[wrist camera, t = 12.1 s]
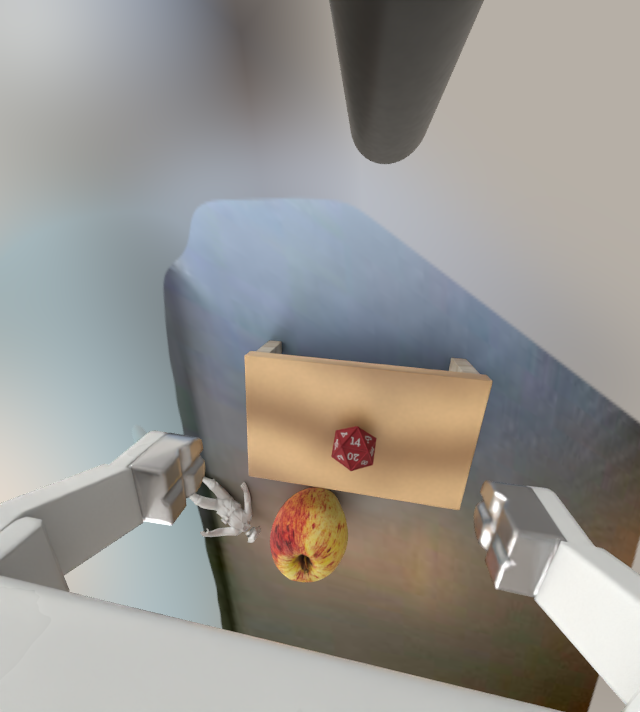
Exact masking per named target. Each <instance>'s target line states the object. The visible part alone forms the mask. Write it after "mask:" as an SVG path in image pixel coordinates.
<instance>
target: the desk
mask: <svg viewBox="0 0 640 712" xmlns="http://www.w3.org/2000/svg"><path fill="white" fill-rule="evenodd" d="M281 353H282V342H281V341H268V342H267V343H266V344H264V345H263V346H262V347H261V348H259V349H258V350H257V351H256V352H255V351H250V352H249V353H247V354H246V355H245V379H246V408H247V437H248V466H249V476H252V477H259V478H265V479H271V480H277V481H283V482H289V483H295V484H301V485H308V486H314V487H320V488H326V489H332V490H338V491H344V492H351V493H357V494H363V495H369V496H375V497H381V498H387V499H394V500H400V501H406V502H412V503H418V504H424V505H430V506H437V507H443V508H449V509H455V510H459V509H460V505H461V501H462V497H463V494H464V490H465V486H466V482H467V478H468V474H469V470H470V467H471V463H472V459H473V455H474V451H475V447H476V443H477V440H478V436H479V432H480V428H481V424H482V420H483V417H484V413H485V409H486V405H487V401H488V397H489V393H490V390H491V386H492V380H491V379H490V378H489V377H488V376H487V375H482V374H479V373H478V372H477V370H476V369H475V368H474V367H473V366H472V365H471V364H470V363H469V362H468V361H467V360H466V359H460V358H451V362H450V366H449V371H443V370H433V369H423V368H413V367H403V366H393V365H384V364H374V363H364V362H354V361H344V360H334V359H324V358H314V357H305V356H295V355H285V354H281ZM355 426H358V427H359V428H361V429H363V430H364V431H366V432H367V433H369V434H371V435H372V436H374V437H376V438H377V439H376V446H375V454H374V461H373V465H371V466H368V467H364V468H361V469H357V470H354V471H350V470H349V469H347V468H346V467H344V466H343V465H342V464H340V463H339V462H338V461H336V460H335V459H334V458H332V457H331V455H332V449H333V443H334V437H335V431H336V430H340V429H345V428H350V427H355Z"/></svg>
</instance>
